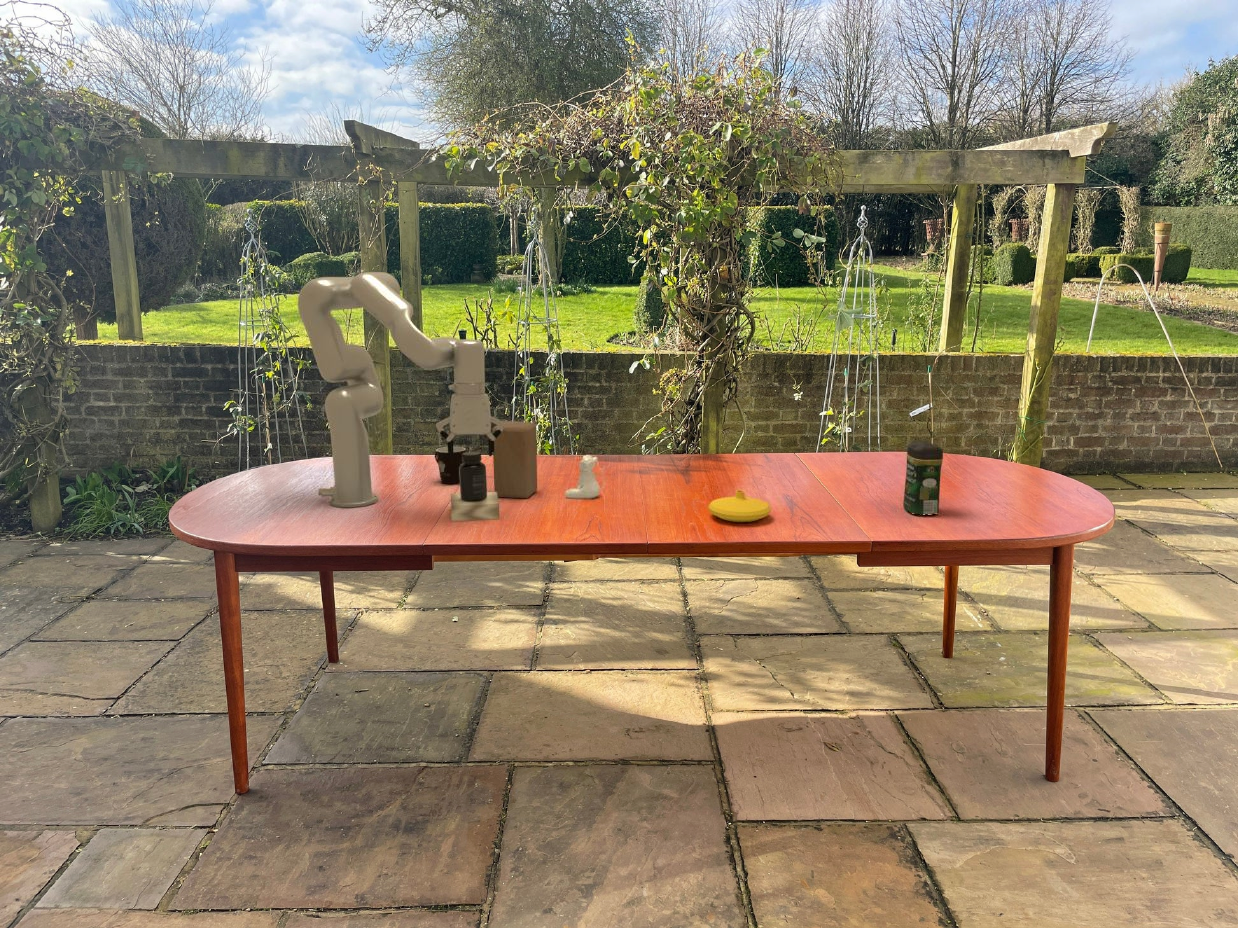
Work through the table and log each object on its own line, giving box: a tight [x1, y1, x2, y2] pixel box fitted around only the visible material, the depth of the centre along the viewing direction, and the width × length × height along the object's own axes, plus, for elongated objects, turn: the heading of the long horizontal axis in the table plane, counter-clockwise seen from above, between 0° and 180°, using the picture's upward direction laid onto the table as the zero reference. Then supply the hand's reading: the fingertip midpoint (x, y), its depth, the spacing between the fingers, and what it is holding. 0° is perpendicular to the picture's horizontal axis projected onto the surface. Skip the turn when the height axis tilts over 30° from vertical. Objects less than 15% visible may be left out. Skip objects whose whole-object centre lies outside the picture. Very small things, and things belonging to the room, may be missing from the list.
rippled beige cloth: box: [450, 491, 501, 522], centre depth 222 cm, size 12×12×4 cm
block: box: [491, 421, 538, 499], centre depth 240 cm, size 10×10×20 cm
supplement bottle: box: [459, 451, 488, 502], centre depth 220 cm, size 7×7×12 cm
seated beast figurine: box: [565, 454, 601, 500], centre depth 238 cm, size 10×9×12 cm
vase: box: [708, 490, 772, 523], centre depth 218 cm, size 16×16×7 cm
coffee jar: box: [902, 440, 944, 516], centre depth 221 cm, size 10×8×19 cm
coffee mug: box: [434, 446, 467, 486], centre depth 256 cm, size 12×9×10 cm
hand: (471, 455), depth 219 cm, fingers open, 9 cm apart
